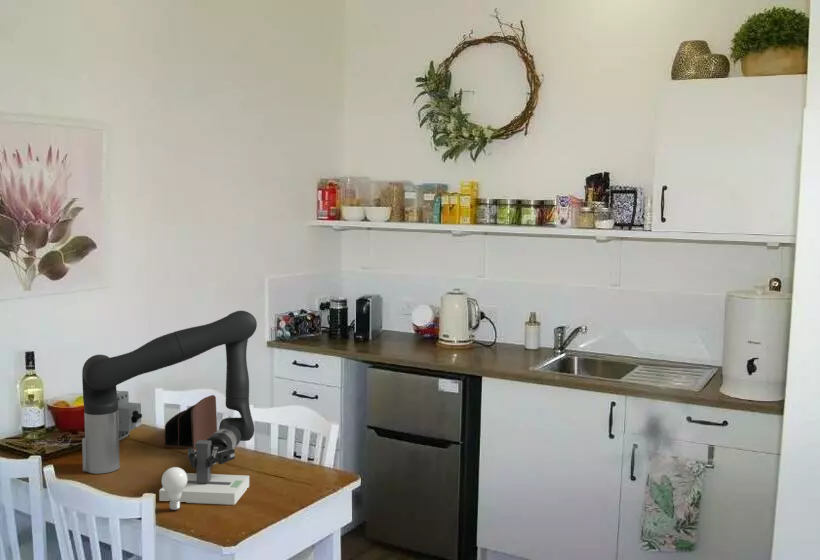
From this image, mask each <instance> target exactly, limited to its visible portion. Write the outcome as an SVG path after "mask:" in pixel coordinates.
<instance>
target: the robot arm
mask: <svg viewBox="0 0 820 560" xmlns="http://www.w3.org/2000/svg"><path fill="white" fill-rule="evenodd" d="M257 323H258V322H257V319H256V317H255V316H254V315H253V314H252V313H250V312H248V311H245V310H236V311H234V312H231V313H229V314H228V315H226V316H225V317H222V318H220V319H218V320H215V321H212V322H210V323H207V324H201V325H198V326H191V327H188V328H184V329H179V330H175V331H172V332H169V333H166V334H164V335H160V336H159V337H156V338H153V339H152V340H150V341H148V342H146V343H144V344H143V345H141V346H139V347H138V348H136V349H134V350H132V351H130V352H127V353H122V354H120V355H115V356H112V357H109V356H107V355H105V354H95V355H92V356H90V357H89V358H87V360H86V361H85V362H84V363H83V366H82V370H81V371H82V372H81V374H82V375H81V377H82V379H81V382H82V383H81V384H82V401H83V408H84V409H83V411H84V413H83V414H84V417H83V418H84V437H82V439H81V449H82V450H81V451H82V453H81V454H82V455H81V456H82V459H81V460H82V472H87V473H88V474H96V475H97V474H99V475H100V474H109V473H111V472H115V471H117V470H119V469H120V440H119V421H118V399H117V391H118V390H117V386H118V385H120V384H122V383H125V382H126V381H129V380H131V379H133V378H135V377H137V376H141V375H144V374H147V373H152V372H154V371H158V370H162V369H164V368H167V367H171V366H174V365H177V364H179V363H183V362H185V361H188V360H190V359H193V358H195V357H197V356H199V355H201V354H204V353H205V352H208V351H210V350H212V349H214V348H217V347H221V346H223V345H224V346H225V356H226V359H225V360H226V373H225V374H226V376H225V377H226V379H225V407H226V408H227V409H229V410H232V411H237V412H239V415H240V417H225V418H223V419H221V421H220V422H219V426H218V427H219V428H218V429H217V431H216V432H215V433H213V434H212V435H211V436H210V437H209V438H208V439H207V440H208V441H211V446H210V451H211V456H210V457H209V458H208V459H206V461H205V468H209V467H211V468H212V467H213V465H217V464H218V465H223V464H225V463H226V464H227V463H229V462H230V461H233V460H235V458H236V457H235V456H236V454H235V451H236V450H235V448H236V447H237V446H238V445H239V443H240V442H246V441H247V442H248V441H250V440H251V439H252V438H253V437H254V435H255V424H254V420H253V417H252V413H251V409H250V378H249V370H248V362H247V347H248V342H249V339H250V338H251V337H252V336H253V335H254V334H255V333H256V330H257V326H258V324H257ZM187 459H188V463H189V464H190V467H191V468H192V469H195V468H196V466H197V460H196V449H192V448H188V449H187Z"/></svg>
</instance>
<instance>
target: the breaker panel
mask: <svg viewBox="0 0 820 560" xmlns="http://www.w3.org/2000/svg"><path fill="white" fill-rule="evenodd" d="M186 474H187V478H188V480H187V484H186V486H185V488H184V489H183V491H182V495H181V498H180V503H181V502H186V504H187V503H188V504H207V505H208V504H209V505H225V506H226V505H228V506H229V505H231V506H232V505H233V506H235V505H236V504H237V502H239V500H240V499H241V498H242V496H244V495H245V492H246V491H247V490H248V489H249V487H250V475H241V474H219V473H217V474H216V473H211V480H210V481H209V482H208V483H197V472H194V473H192V472H191V473H190V472H189V473H188V472H186ZM247 488H248V489H247ZM158 493H159V495H158V496H159V501H169V498H168V494H167V492H166V490H165V489H164V488H163V486H162V487H161V488H160V489H159V490H158Z"/></svg>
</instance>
